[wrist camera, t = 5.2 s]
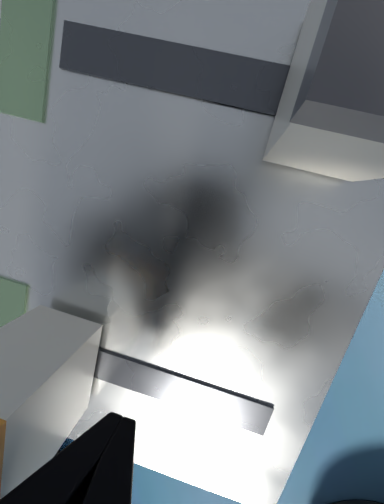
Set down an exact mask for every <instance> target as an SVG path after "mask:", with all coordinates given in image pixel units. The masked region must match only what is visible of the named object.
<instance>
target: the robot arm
mask: <svg viewBox="0 0 384 504" xmlns="http://www.w3.org/2000/svg"><path fill="white" fill-rule="evenodd" d="M135 433H136V421H135V420H134V419H131V418H128V417H125V416H124V417H123V416H122V415H120V414H117V413H114V412H110V413H108V414H107V415H106V416H104V417H103V418H102V419H101V420H99V421H98V422H97V423H96V424H94V425H93V426H92V427H91V428H89V429H88V430H87V431H85V432H84V433H83V434H82V435H80V436H79V437H78V438H77V439H75V440H74V441H73V442H72V443H70V444H69V445H68V446H67V447H65V448H64V449H63V450H62V451H60V452H59V453H58V454H57V455H55V456H54V457H53V458H52V459H50V460H49V461H48V462H47V463H45V464H44V465H43V466H42V467H40V468H39V469H38V470H37V471H35V472H34V473H33V474H32V475H30V476H29V477H28V478H27V479H25V480H24V481H23V482H22V483H20V484H19V485H18V486H17V487H15V488H14V489H13V490H12V491H10V492H9V493H8V494H7V495H5V496H4V497H3V498H1V499H0V504H131V497H132V481H133V465H134V449H135Z"/></svg>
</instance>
